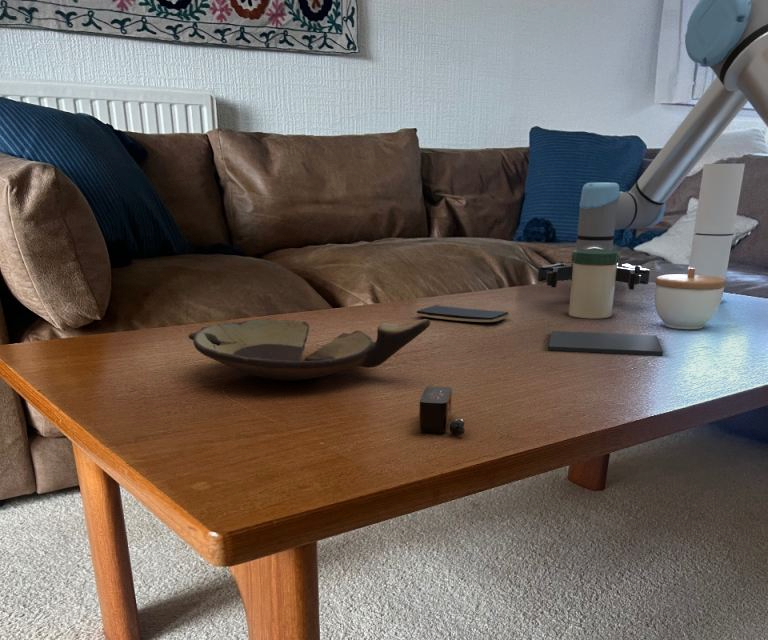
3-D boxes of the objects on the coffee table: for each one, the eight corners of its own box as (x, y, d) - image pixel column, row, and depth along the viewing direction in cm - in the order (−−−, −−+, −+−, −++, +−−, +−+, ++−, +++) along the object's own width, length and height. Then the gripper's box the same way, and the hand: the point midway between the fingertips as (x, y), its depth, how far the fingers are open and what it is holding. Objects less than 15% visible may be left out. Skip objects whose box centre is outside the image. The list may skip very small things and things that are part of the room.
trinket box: (655, 318, 138) (662, 263, 134) (720, 323, 133) (729, 266, 130) (645, 329, 129) (652, 270, 125) (714, 334, 125) (724, 273, 121)
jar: (610, 312, 144) (617, 253, 140) (612, 319, 137) (619, 257, 133) (568, 310, 146) (574, 252, 141) (567, 317, 139) (573, 256, 135)
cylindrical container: (679, 301, 155) (699, 163, 145) (689, 296, 161) (709, 163, 151) (716, 304, 152) (740, 163, 142) (725, 299, 157) (748, 163, 147)
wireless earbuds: (417, 435, 78) (417, 404, 77) (425, 415, 84) (426, 386, 83) (463, 438, 77) (465, 406, 76) (468, 417, 84) (470, 387, 82)
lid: (618, 260, 140) (619, 249, 140) (620, 265, 133) (621, 254, 132) (571, 259, 142) (572, 248, 141) (571, 264, 135) (572, 253, 134)
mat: (656, 339, 121) (656, 335, 121) (662, 355, 111) (663, 351, 111) (551, 334, 125) (551, 330, 125) (548, 350, 114) (548, 346, 114)
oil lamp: (270, 347, 116) (267, 295, 113) (447, 374, 101) (448, 313, 98) (154, 379, 99) (147, 318, 96) (346, 416, 84) (344, 345, 81)
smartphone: (434, 305, 144) (510, 311, 137) (434, 311, 145) (509, 318, 137) (415, 310, 138) (492, 318, 131) (415, 317, 139) (492, 325, 132)
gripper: (654, 288, 157) (663, 304, 138) (529, 284, 162) (521, 299, 144) (659, 248, 154) (669, 260, 135) (531, 246, 159) (523, 257, 141)
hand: (592, 280), depth 139 cm, fingers open, 13 cm apart
